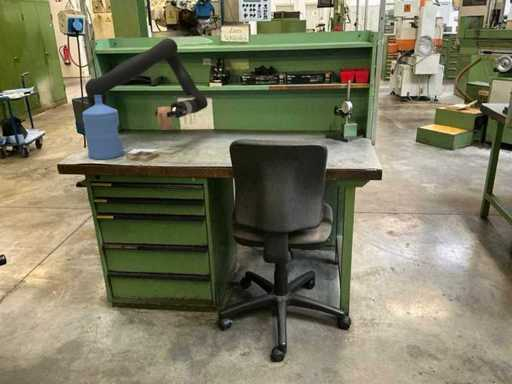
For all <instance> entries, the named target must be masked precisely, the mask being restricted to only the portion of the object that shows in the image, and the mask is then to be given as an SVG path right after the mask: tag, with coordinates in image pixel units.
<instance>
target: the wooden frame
mask: <svg viewBox="0 0 512 384" xmlns="http://www.w3.org/2000/svg"><path fill="white" fill-rule="evenodd" d="M143 156H146V157H143ZM157 157H160V153H157V152H153V151H145V150H140V151H137V152H134V153H132V154H129V155H127V156H126V160H129V161H130V160H131V161H138V162H144V163H145V162H149V161H150V160H153V159H156V158H157Z"/></svg>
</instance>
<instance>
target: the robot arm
mask: <svg viewBox="0 0 512 384" xmlns="http://www.w3.org/2000/svg"><path fill="white" fill-rule="evenodd" d="M163 60H165V61H166V62H167V64H168V65H169V67H170V68H171V70H172V72H173V74H174V76H175V77H176V80H177V81H178V84H179V86H180V87H181V89H182V91H183V92H184V94H185V96H187V97H189V96H193V97H194V98H193V99H186V100H180V101H176V102H173V103H172V104H170V107H171V111H170V112H167V117H174V118H176V119H180V118H184V117H185V116H188V115H190V114H196V113H198V112H200V111H202V110H203V109H206V108H207V107H208V104H209V103H208V99H207V98H206V97H205V95H204V94H203V93H202V92H201V91H200V90H199V88H197V85H196V84H195V82H194V80H193V78H192V76H191V75H190V74H189V72H188V70H187V69H186V67H185V66H184V64H183V62H182V60H181V58H180V56H179V53H178V44H177V42H176V41H175V40H174V39H172V38H164V39H162V40H161V41H160V42H158V43H156V44H155V45H154V46H152V47H151V48H149V49H147V50H145V51H143V52H140V53H138V54H136V55H134V56H132V57H130V58H128V59H126V60H124V61H122V62H121V63H120V64H118V65H117V66H115V67H114V68H113V69H112V70H110V71H109V72H107V73H105V74H103V75H101V76H99V77H98V76H97V78H96V77H95V78H90V79H89V80H88V81H87V82H86V84H85V92H86V96H87V104H88V107H87V108H88V109H89V108H90V107H92V106H94V105H95V97H94V95H102V96H101V98H102V103H103V104H104V105H106V106H108V99H107V93H108V92H109V91H111V90H112V89H114V88H115V87H118V86H121V85H123V84H125V83H128V82H130V81H131V80H133V79H136V78H137V77H140V76H142V75H143V74H145V73H146V71H148V70H150V69H151V68H152V67H153V66H154V65H156V64H157V63H159V62H161V61H163ZM157 113H158V108H157V109H156V111H155V112H154V115H155V117H157Z"/></svg>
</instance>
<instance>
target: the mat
mask: <svg viewBox="0 0 512 384" xmlns="http://www.w3.org/2000/svg"><path fill="white" fill-rule="evenodd" d="M182 150H183V147H177V146H163V147H160V148H158V149H155V150H153V151H152V152H157V153H159V154H162V155H163V154H164V155H174V154H176V153H178V152H181V151H182Z"/></svg>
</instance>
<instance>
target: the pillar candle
mask: <svg viewBox="0 0 512 384" xmlns="http://www.w3.org/2000/svg"><path fill="white" fill-rule="evenodd" d="M157 109H158V113H157V116H156V118H157V125H159V129H160V130H164V131H165V130H167V131H168V130H172V129H173V118H172V117H173V116H171V117H167V112H170V111H171V106H167V105H165V106H164V105H163V106H158V107H157Z"/></svg>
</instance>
